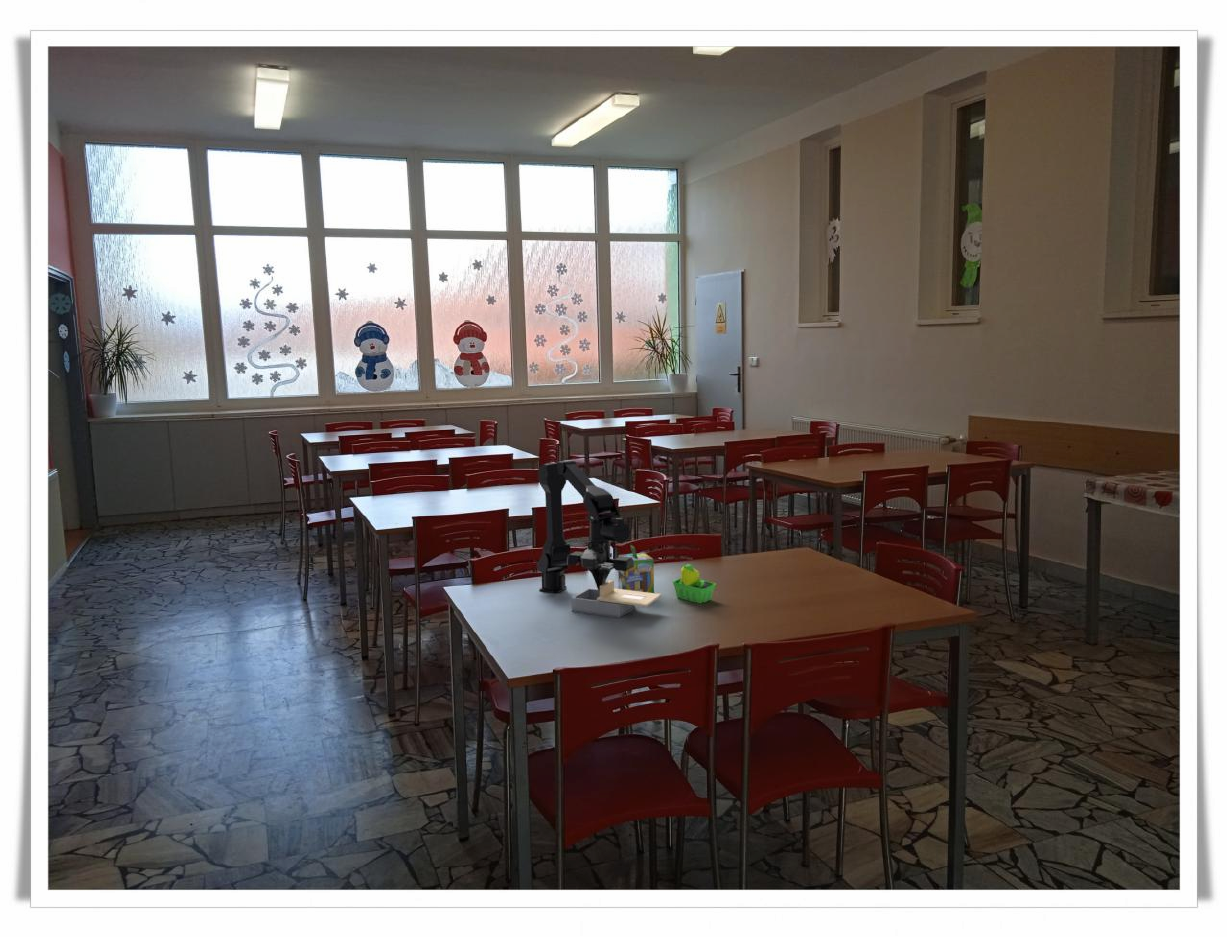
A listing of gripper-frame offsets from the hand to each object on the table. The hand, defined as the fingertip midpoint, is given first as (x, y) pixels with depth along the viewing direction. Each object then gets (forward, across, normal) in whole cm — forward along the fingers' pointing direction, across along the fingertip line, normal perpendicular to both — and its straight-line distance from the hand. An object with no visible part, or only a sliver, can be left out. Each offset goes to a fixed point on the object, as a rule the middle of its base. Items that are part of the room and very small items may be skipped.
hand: (600, 590), depth 243 cm
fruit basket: (+6, +21, +20) cm, 30 cm away
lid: (+1, +9, 0) cm, 9 cm away
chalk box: (+6, +3, +19) cm, 20 cm away
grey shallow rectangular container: (+6, +1, 0) cm, 6 cm away
